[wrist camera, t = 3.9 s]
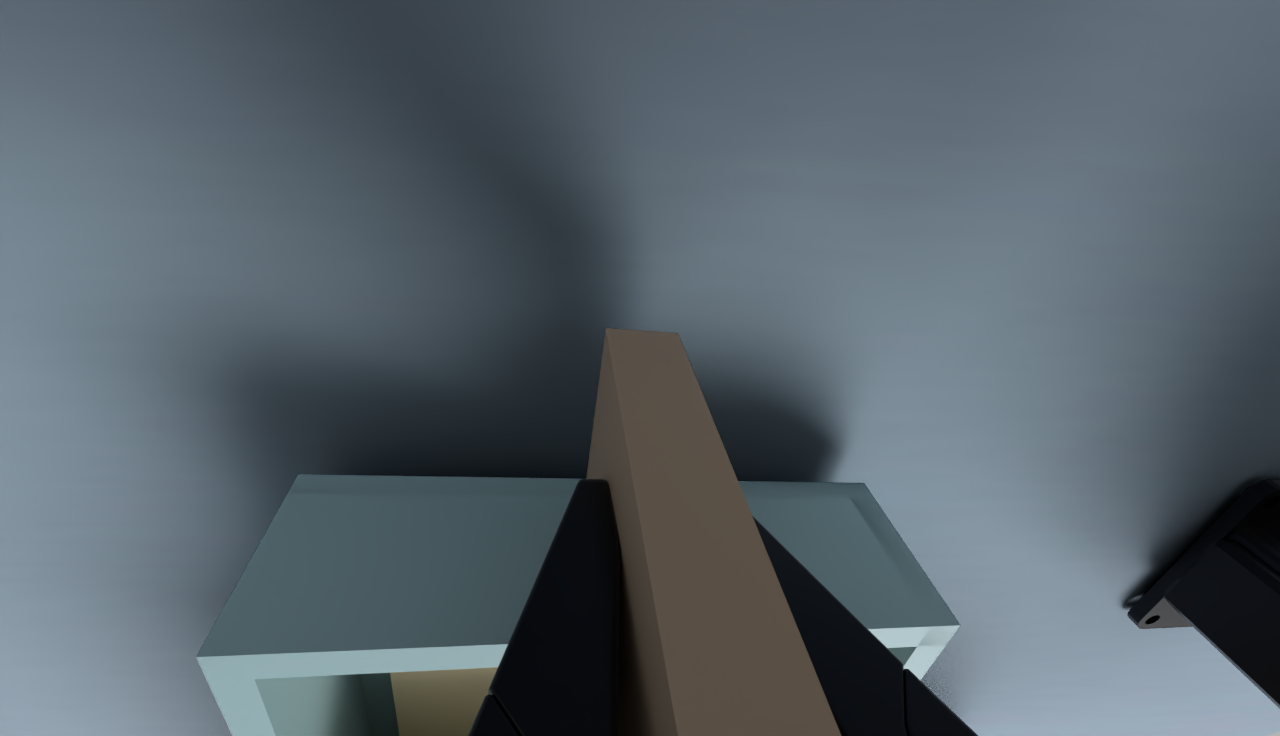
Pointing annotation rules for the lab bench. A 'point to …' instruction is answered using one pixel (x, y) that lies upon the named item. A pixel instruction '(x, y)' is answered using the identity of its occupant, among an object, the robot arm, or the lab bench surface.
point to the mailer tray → (510, 562)
